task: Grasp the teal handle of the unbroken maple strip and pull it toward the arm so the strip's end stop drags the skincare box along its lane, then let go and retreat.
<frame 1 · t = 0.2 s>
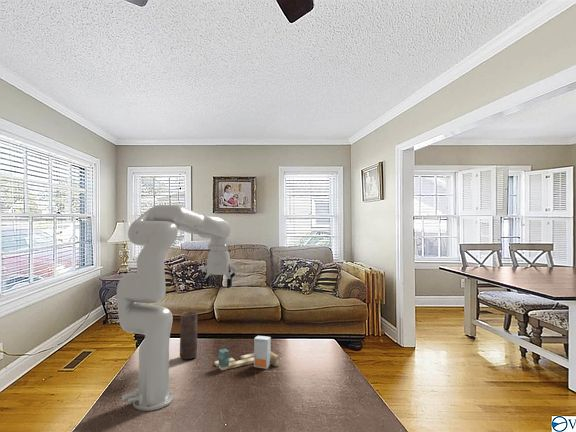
hand: (218, 287, 165), 31 cm above the table, tool pointing down, fingers open, 9 cm apart
skincare box: (262, 366, 152), on the table
broken strip: (239, 360, 159), on the table
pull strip: (249, 357, 152), point 4 cm above the table, slide at 0.0 cm
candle: (188, 358, 161), on the table
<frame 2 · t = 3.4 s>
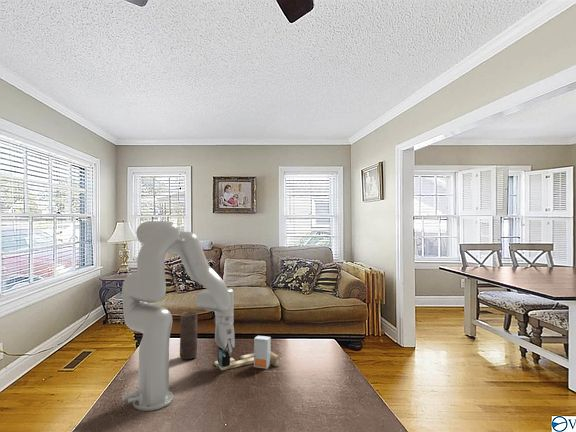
hand: (223, 363, 150), 2 cm above the table, tool pointing down, fingers closed on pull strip, 3 cm apart
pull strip: (249, 357, 152), point 4 cm above the table, slide at 0.0 cm, touching gripper
everything else where it was.
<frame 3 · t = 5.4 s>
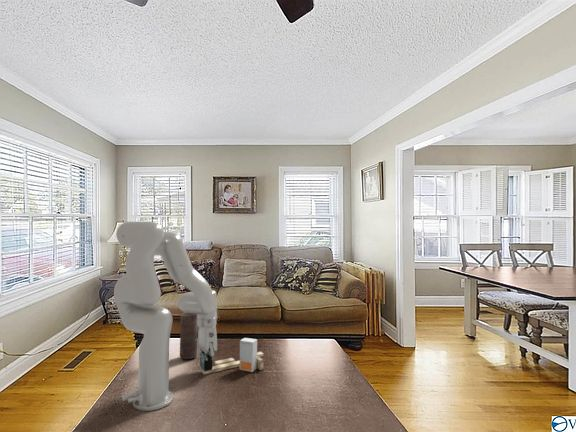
hand: (206, 367, 146), 2 cm above the table, tool pointing down, fingers closed on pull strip, 3 cm apart
skincare box: (248, 369, 149), on the table
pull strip: (232, 361, 148), point 4 cm above the table, slide at 7.4 cm, touching gripper
everything else where it was.
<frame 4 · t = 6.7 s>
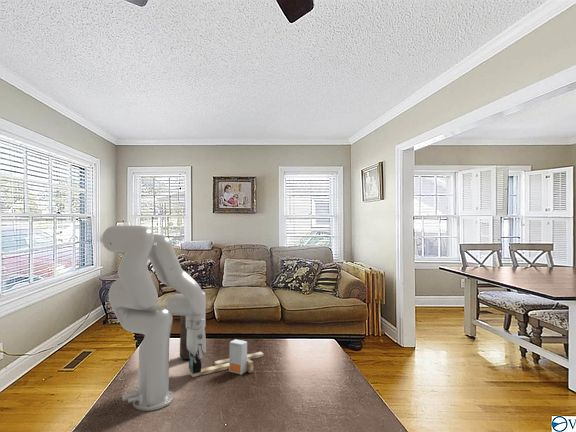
hand: (195, 369, 143), 2 cm above the table, tool pointing down, fingers closed on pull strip, 3 cm apart
skincare box: (238, 372, 147), on the table, touching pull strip
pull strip: (221, 363, 145), point 4 cm above the table, slide at 11.9 cm, touching gripper, skincare box
everything else where it was.
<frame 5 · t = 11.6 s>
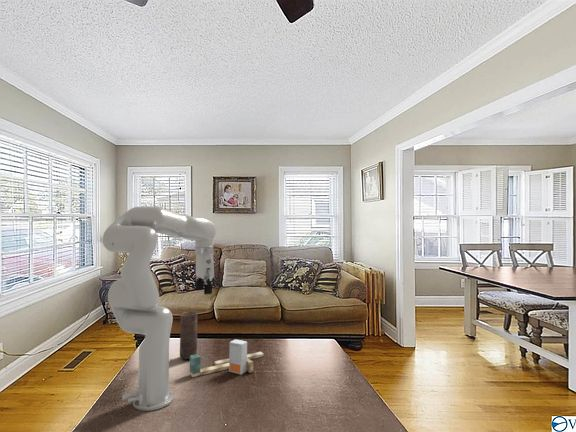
hand: (203, 291, 155), 30 cm above the table, tool pointing down, fingers open, 9 cm apart
skincare box: (238, 372, 147), on the table
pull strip: (221, 363, 145), point 4 cm above the table, slide at 12.0 cm
everything else where it was.
at the end: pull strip slide at 12.0 cm; skincare box moved 10.7 cm from its start; skincare box tilted 0° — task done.
